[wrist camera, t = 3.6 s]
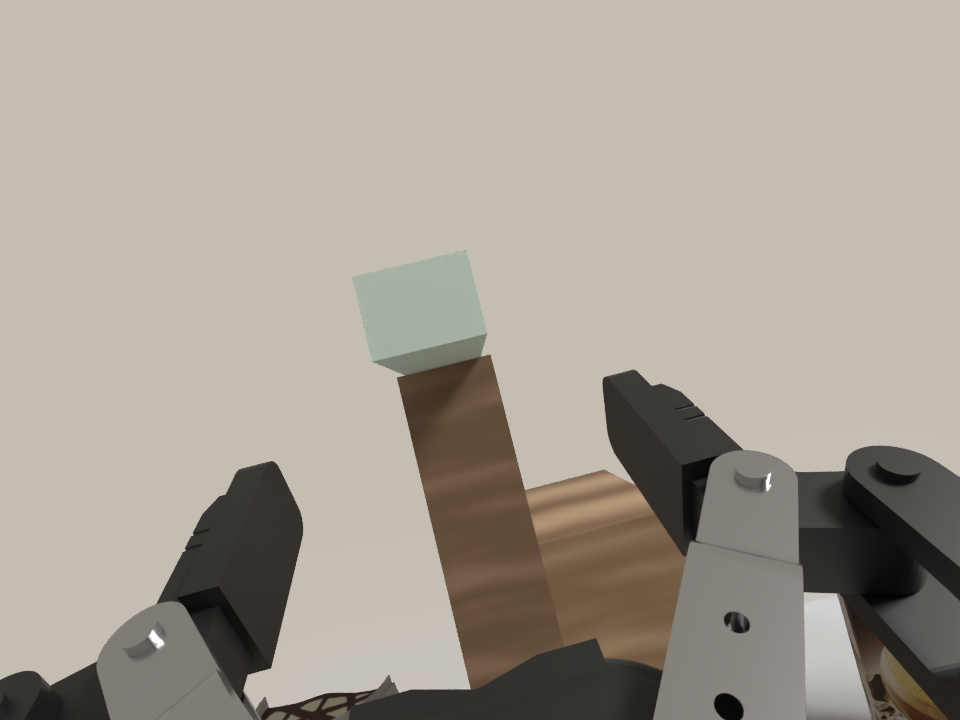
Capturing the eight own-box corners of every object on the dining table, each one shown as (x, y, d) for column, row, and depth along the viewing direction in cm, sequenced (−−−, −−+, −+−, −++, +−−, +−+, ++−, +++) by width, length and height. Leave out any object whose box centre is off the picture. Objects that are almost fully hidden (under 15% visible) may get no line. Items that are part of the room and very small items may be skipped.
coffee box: (897, 792, 31) (821, 534, 32) (871, 720, 36) (807, 503, 38) (1107, 817, 27) (1011, 519, 28) (1040, 731, 32) (963, 487, 33)
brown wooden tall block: (803, 959, 24) (627, 320, 26) (553, 1037, 23) (397, 377, 26) (679, 753, 38) (571, 348, 40) (521, 798, 37) (421, 385, 40)
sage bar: (487, 333, 17) (465, 249, 17) (372, 361, 17) (352, 276, 17) (475, 373, 41) (466, 338, 41) (428, 384, 41) (419, 349, 41)
